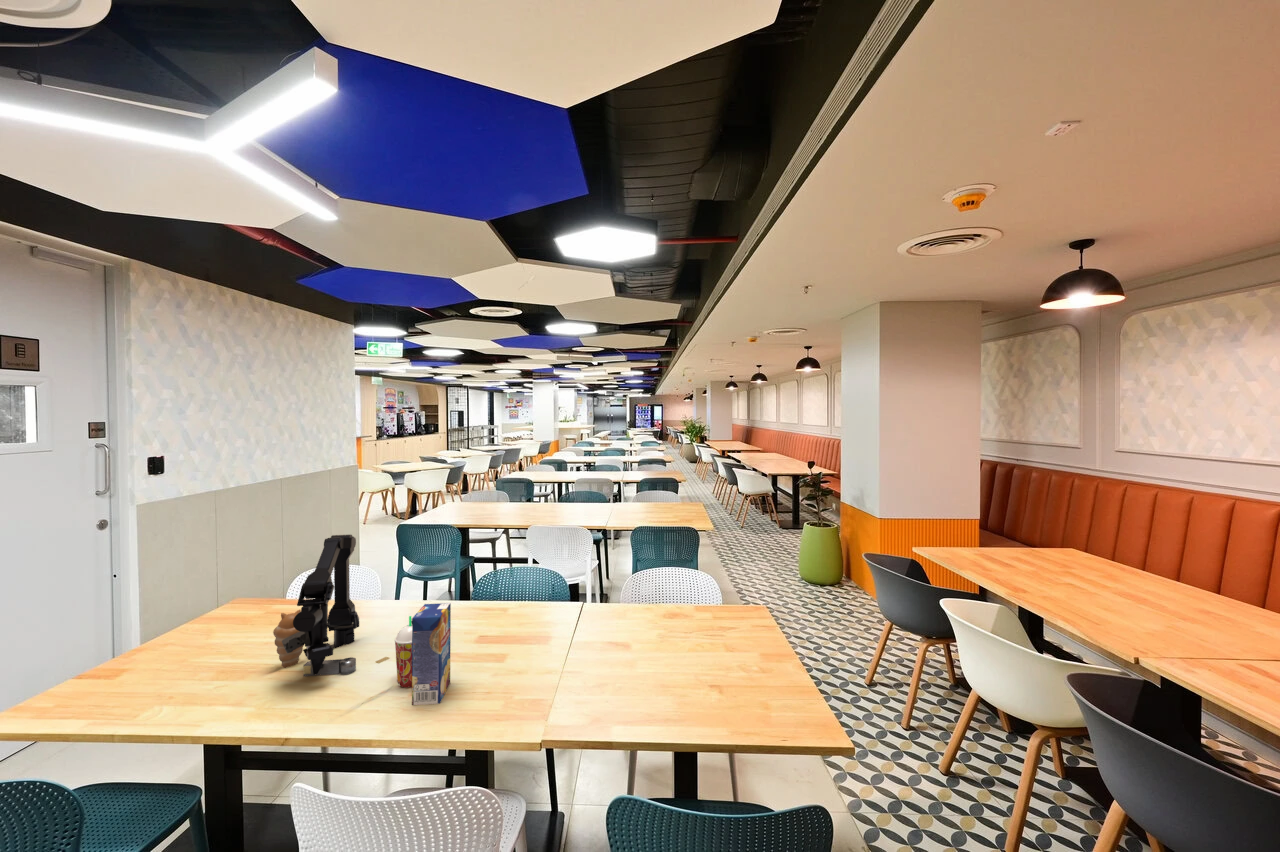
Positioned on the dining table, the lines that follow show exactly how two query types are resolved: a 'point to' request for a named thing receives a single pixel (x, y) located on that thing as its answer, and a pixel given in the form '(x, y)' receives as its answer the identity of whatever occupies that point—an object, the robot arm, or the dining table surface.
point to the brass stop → (382, 660)
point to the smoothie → (404, 655)
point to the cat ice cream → (283, 632)
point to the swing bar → (332, 667)
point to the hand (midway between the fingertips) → (315, 673)
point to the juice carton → (431, 653)
